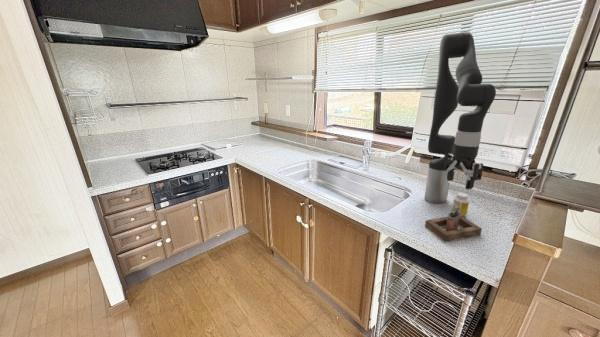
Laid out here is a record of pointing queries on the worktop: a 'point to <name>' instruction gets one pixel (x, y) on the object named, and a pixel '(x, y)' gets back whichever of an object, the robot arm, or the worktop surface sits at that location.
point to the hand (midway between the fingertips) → (458, 184)
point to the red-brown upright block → (453, 219)
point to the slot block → (446, 236)
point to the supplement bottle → (461, 203)
